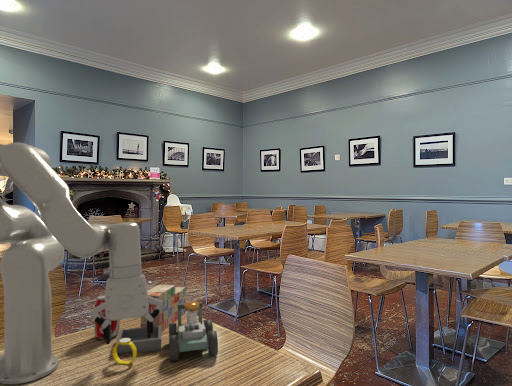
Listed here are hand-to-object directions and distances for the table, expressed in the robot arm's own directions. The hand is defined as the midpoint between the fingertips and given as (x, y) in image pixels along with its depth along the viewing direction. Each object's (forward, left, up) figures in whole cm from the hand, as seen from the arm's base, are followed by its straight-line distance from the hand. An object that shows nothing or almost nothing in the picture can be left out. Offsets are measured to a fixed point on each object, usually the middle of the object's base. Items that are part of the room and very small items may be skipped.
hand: (129, 339), depth 87 cm
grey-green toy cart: (+16, +3, -6) cm, 17 cm away
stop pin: (+16, +3, -2) cm, 16 cm away
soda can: (-8, +20, -6) cm, 23 cm away
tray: (+2, +11, -6) cm, 12 cm away
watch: (-1, 0, -6) cm, 6 cm away
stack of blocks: (+9, +27, -6) cm, 30 cm away
